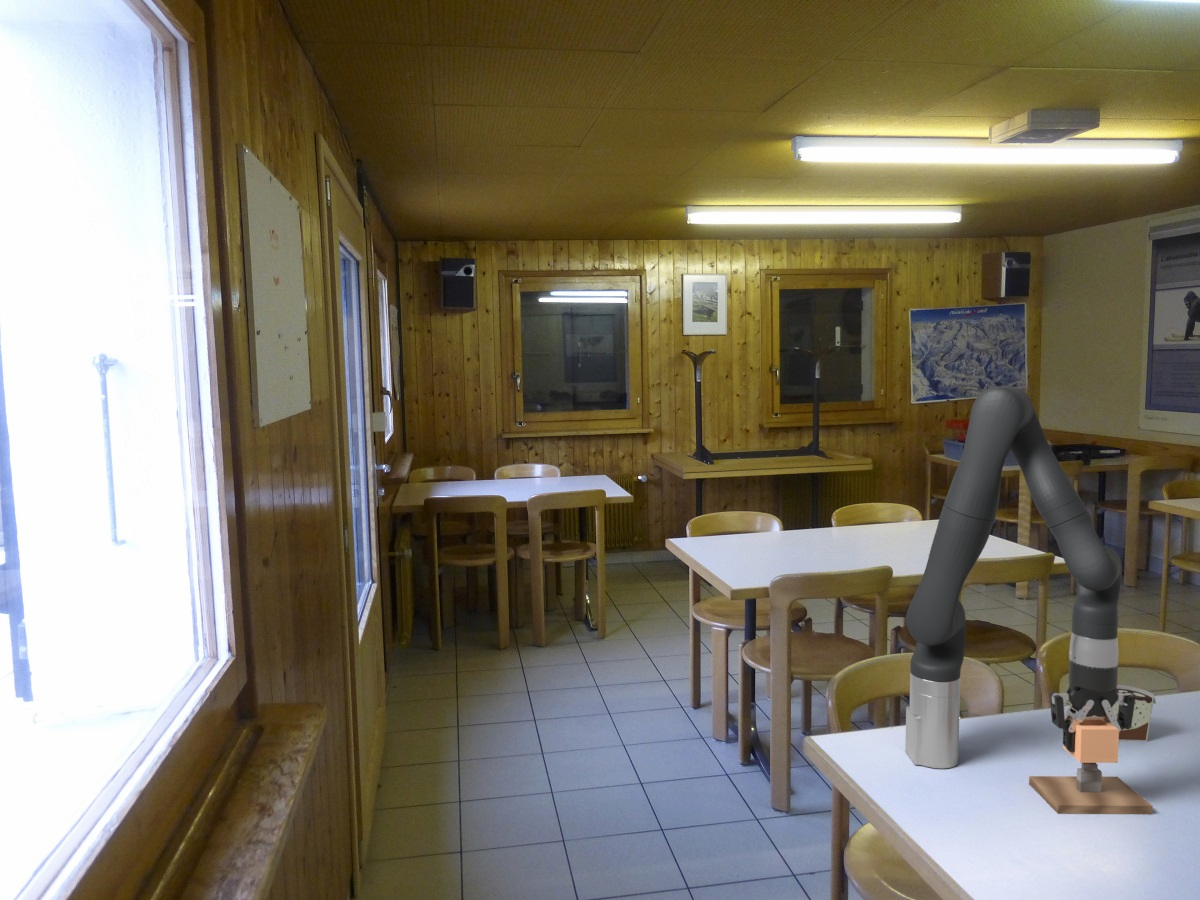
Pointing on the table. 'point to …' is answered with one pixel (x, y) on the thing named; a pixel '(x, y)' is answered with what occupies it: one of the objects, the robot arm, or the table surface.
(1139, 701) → the food container
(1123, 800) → the base board
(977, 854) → the table surface
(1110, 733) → the orange open box
